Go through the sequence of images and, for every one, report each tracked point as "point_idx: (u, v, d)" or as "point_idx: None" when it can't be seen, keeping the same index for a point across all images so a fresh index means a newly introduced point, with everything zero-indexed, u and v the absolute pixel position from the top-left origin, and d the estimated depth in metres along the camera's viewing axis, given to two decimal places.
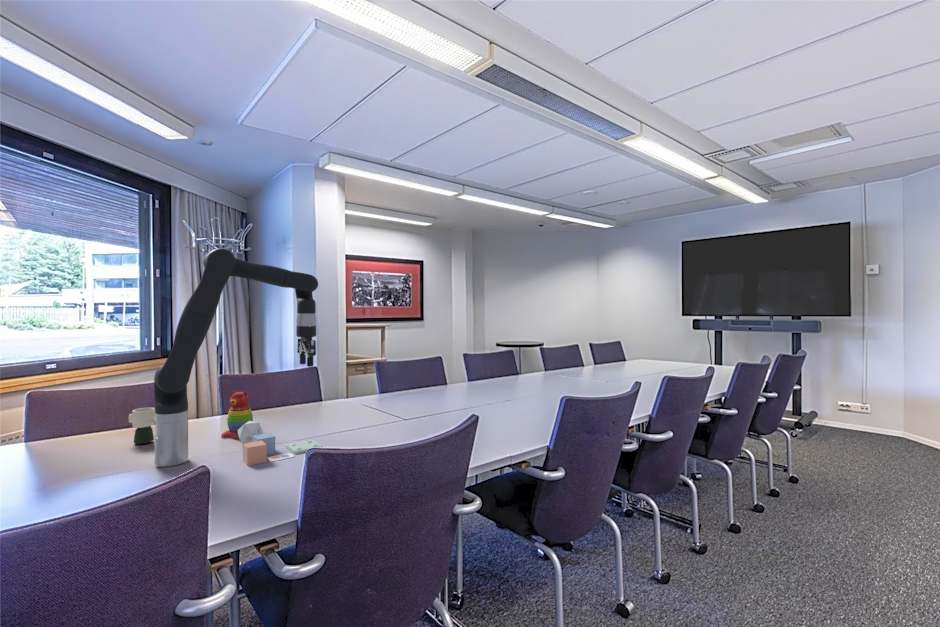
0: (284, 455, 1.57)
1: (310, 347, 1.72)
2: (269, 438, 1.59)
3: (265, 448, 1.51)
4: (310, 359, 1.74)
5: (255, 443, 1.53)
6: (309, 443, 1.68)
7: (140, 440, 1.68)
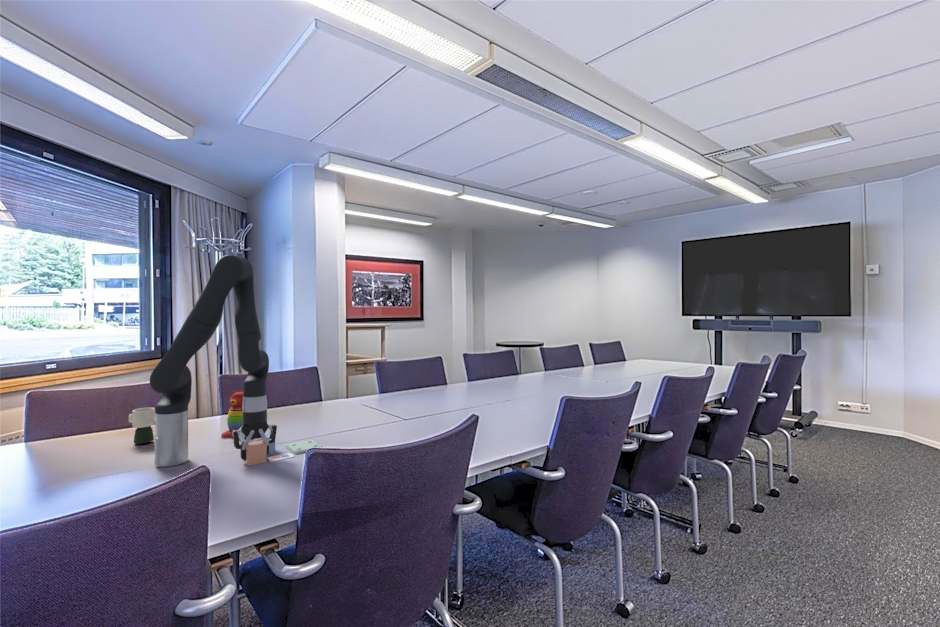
0: (284, 455, 1.57)
1: None
2: (269, 438, 1.59)
3: (265, 448, 1.51)
4: None
5: (255, 442, 1.53)
6: (309, 443, 1.68)
7: (140, 440, 1.68)
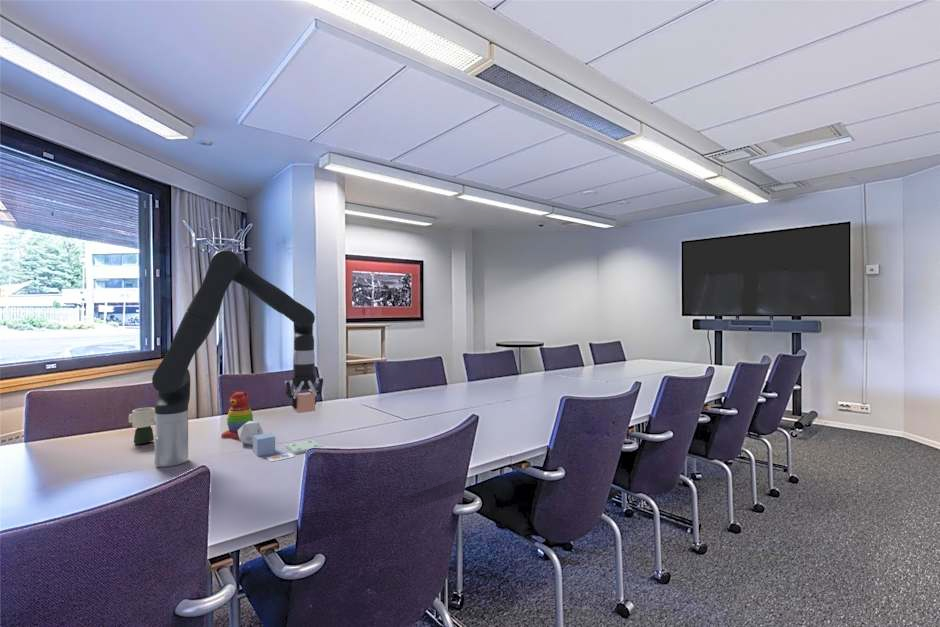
0: (284, 455, 1.57)
1: None
2: (269, 438, 1.59)
3: (314, 398, 1.65)
4: None
5: (304, 393, 1.67)
6: (309, 443, 1.68)
7: (140, 440, 1.68)
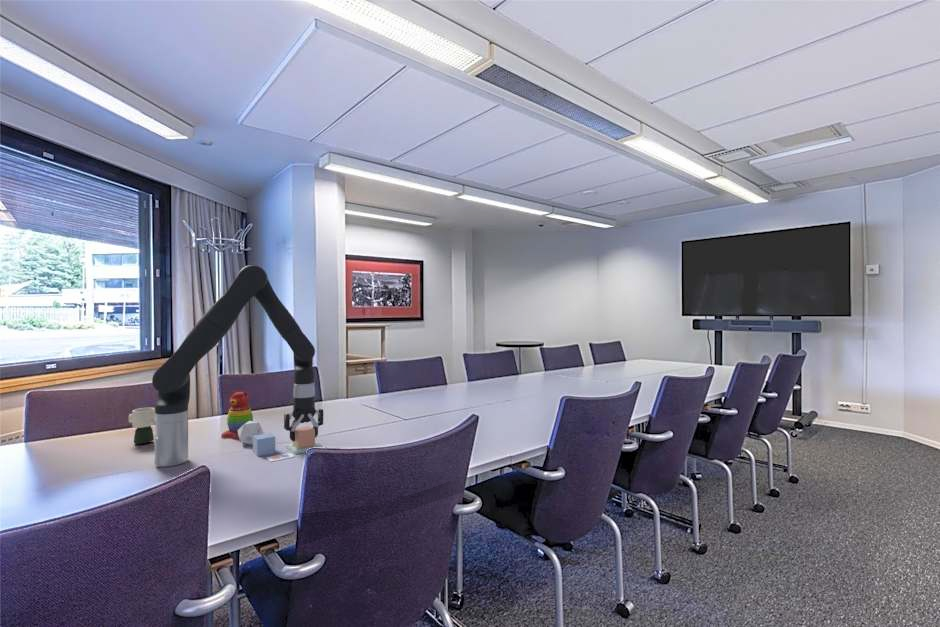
0: (284, 455, 1.57)
1: None
2: (269, 438, 1.59)
3: (314, 432, 1.65)
4: None
5: (304, 428, 1.67)
6: None
7: (140, 440, 1.68)
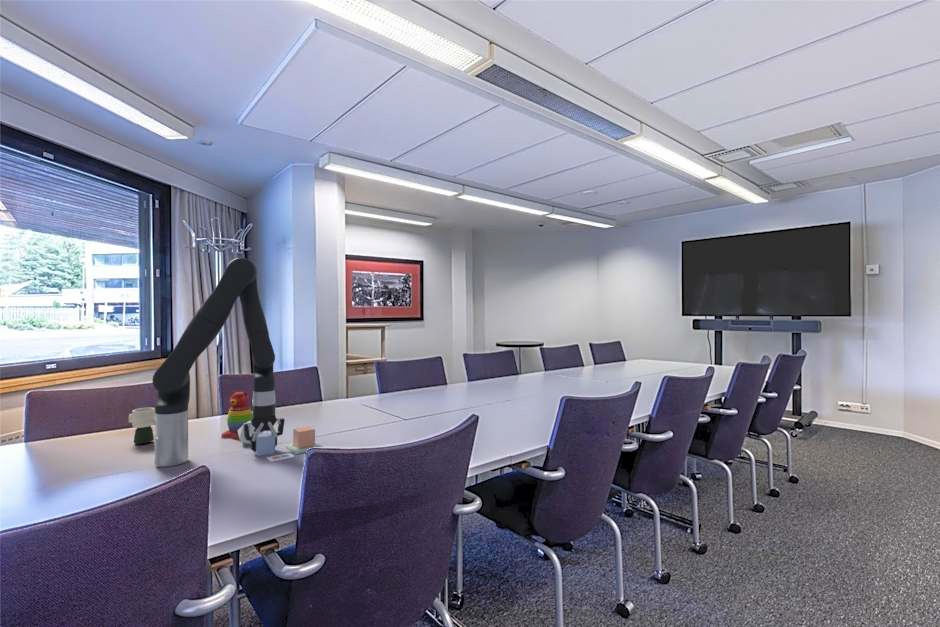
0: (284, 455, 1.57)
1: None
2: (269, 438, 1.59)
3: (314, 432, 1.65)
4: None
5: (304, 428, 1.67)
6: None
7: (140, 440, 1.68)
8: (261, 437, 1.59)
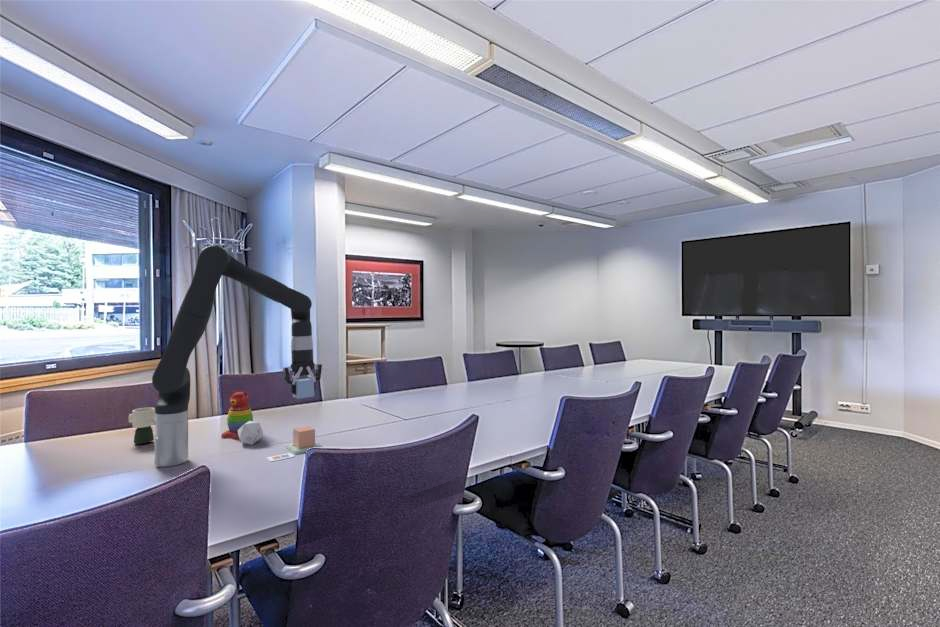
0: (284, 455, 1.57)
1: None
2: (308, 381, 1.64)
3: (314, 432, 1.65)
4: None
5: (304, 428, 1.67)
6: None
7: (140, 440, 1.68)
8: (301, 381, 1.64)
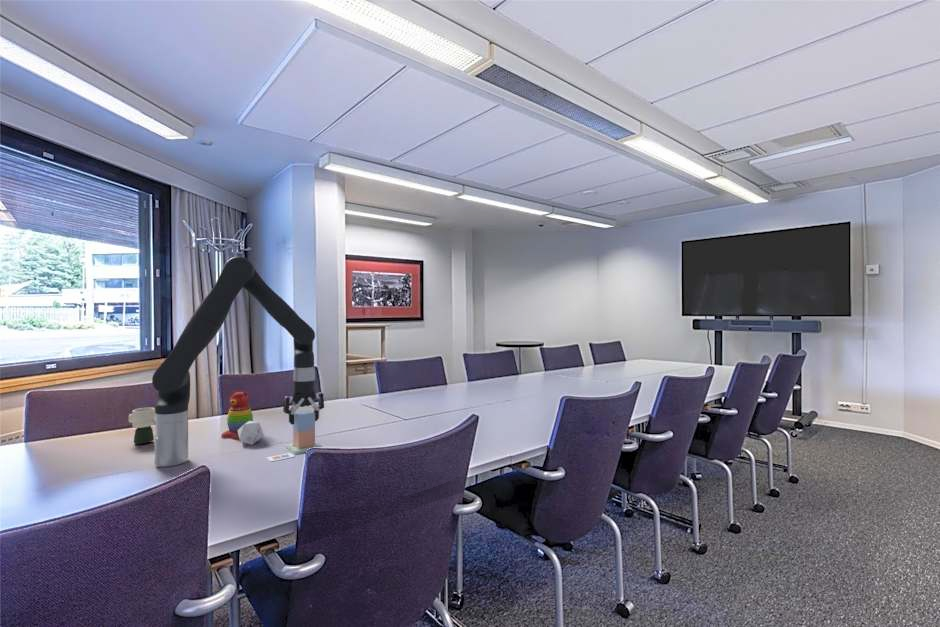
0: (284, 455, 1.57)
1: None
2: (309, 414, 1.64)
3: (314, 432, 1.65)
4: None
5: None
6: None
7: (140, 440, 1.68)
8: (302, 414, 1.64)
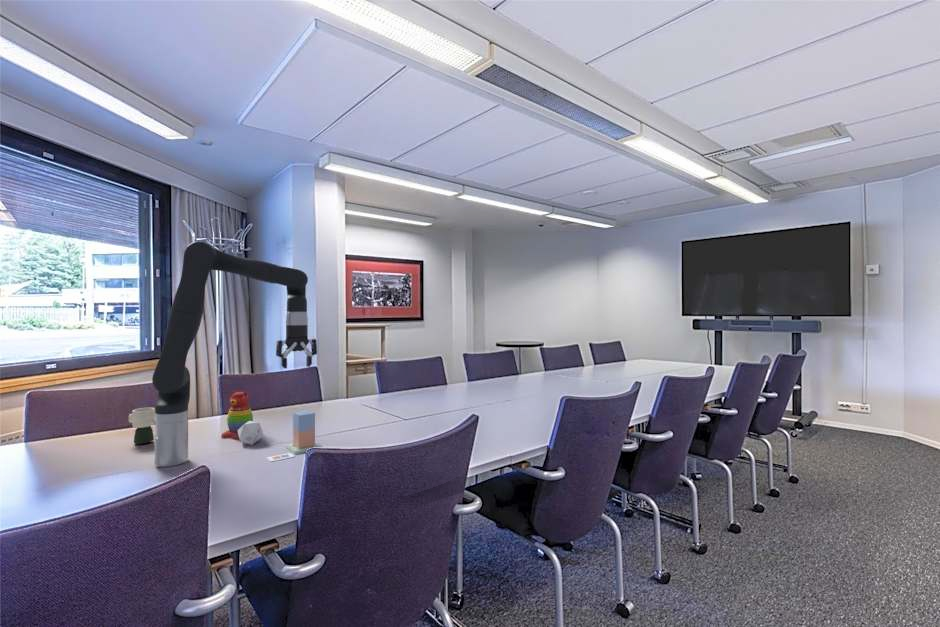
0: (284, 455, 1.57)
1: None
2: (309, 414, 1.64)
3: (314, 432, 1.65)
4: None
5: None
6: None
7: (140, 440, 1.68)
8: (302, 414, 1.64)
